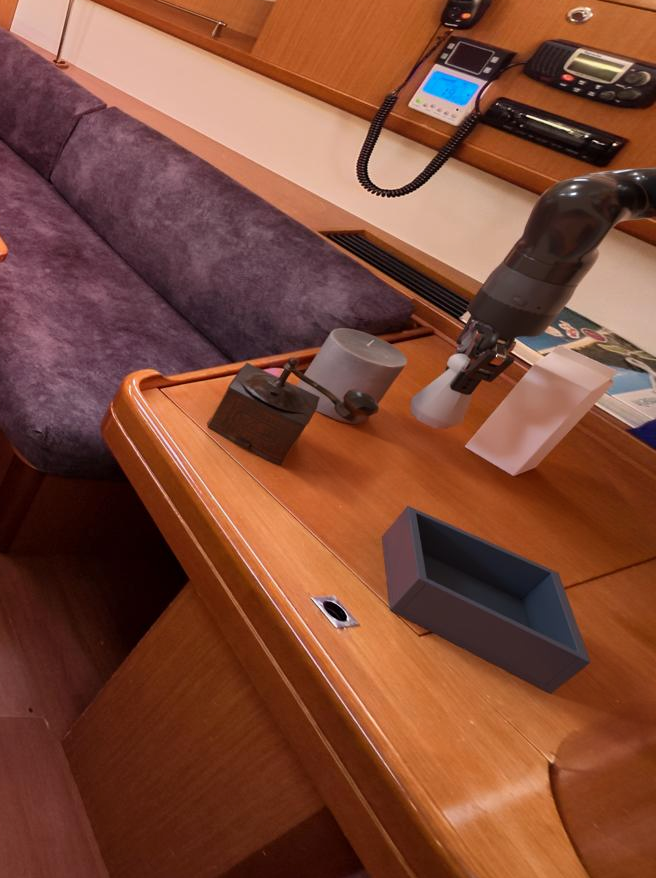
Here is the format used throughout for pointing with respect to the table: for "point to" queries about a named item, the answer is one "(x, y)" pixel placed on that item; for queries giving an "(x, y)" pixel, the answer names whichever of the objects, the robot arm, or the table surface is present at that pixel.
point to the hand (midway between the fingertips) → (456, 382)
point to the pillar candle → (353, 368)
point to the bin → (483, 599)
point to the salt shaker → (442, 399)
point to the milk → (541, 410)
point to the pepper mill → (277, 410)
